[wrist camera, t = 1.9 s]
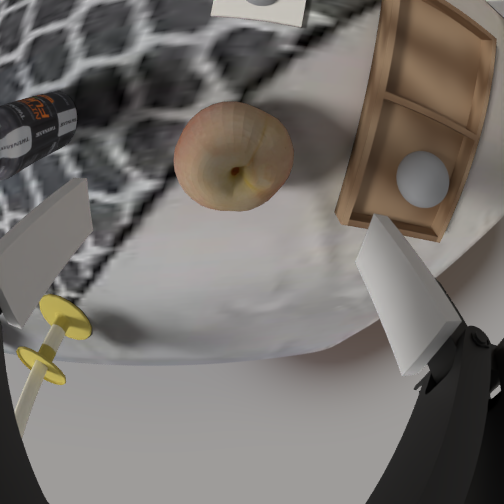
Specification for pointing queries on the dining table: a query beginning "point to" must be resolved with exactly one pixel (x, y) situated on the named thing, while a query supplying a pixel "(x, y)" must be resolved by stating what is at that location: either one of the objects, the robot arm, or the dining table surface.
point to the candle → (49, 351)
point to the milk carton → (497, 5)
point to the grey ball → (422, 179)
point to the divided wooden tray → (418, 112)
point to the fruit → (233, 157)
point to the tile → (262, 10)
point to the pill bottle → (34, 130)
